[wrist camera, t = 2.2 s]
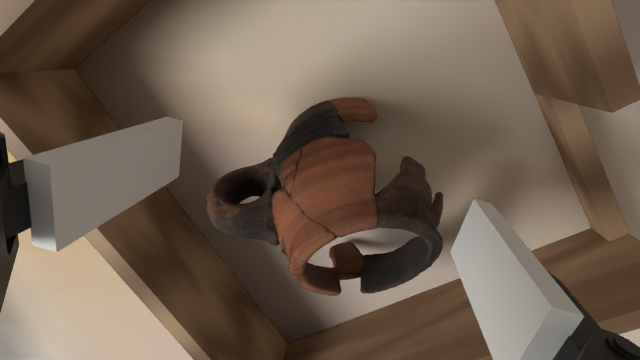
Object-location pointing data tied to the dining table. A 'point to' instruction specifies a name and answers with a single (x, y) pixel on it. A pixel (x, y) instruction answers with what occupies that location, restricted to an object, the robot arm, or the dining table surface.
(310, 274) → the brown hollow vessel
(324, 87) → the dining table surface
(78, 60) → the crate
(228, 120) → the dining table surface
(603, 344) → the robot arm
